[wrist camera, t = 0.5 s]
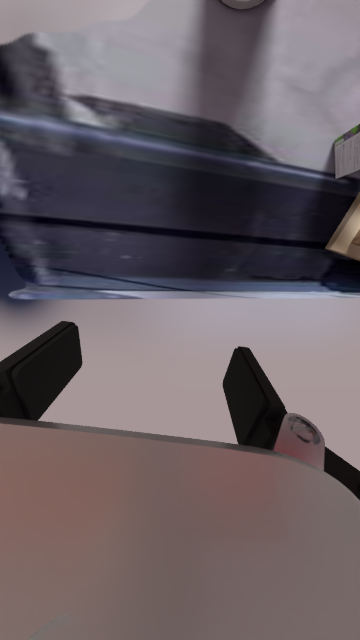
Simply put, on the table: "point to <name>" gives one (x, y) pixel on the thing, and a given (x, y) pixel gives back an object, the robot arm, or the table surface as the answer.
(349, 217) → the desk stand
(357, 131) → the syrup box
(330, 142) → the table surface
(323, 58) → the table surface
